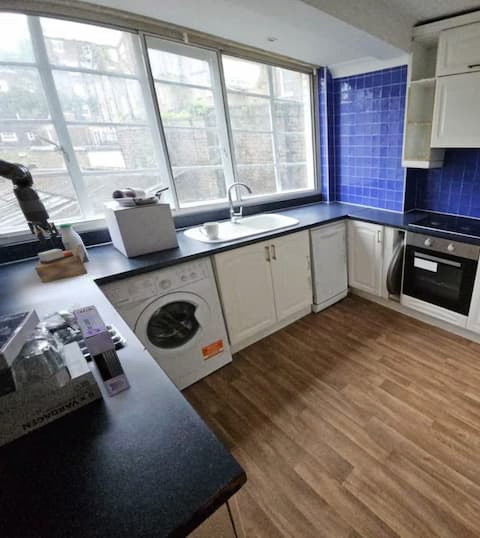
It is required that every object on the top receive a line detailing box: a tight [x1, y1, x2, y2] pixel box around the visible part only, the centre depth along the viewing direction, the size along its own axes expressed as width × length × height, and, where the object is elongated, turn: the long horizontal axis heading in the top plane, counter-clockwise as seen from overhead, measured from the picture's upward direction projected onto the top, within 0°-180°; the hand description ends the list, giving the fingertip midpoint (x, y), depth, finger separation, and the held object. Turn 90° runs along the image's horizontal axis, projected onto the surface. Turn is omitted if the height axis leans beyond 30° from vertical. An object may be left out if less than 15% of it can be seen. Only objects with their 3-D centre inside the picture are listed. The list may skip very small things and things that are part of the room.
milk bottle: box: [59, 222, 90, 258], centre depth 161 cm, size 8×8×20 cm
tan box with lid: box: [34, 244, 90, 284], centre depth 147 cm, size 16×24×10 cm, turn 39°
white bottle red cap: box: [37, 248, 74, 264], centre depth 142 cm, size 11×5×5 cm, turn 164°
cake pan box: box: [72, 304, 131, 398], centre depth 74 cm, size 19×5×18 cm, turn 48°
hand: (50, 243), depth 139 cm, fingers open, 8 cm apart
